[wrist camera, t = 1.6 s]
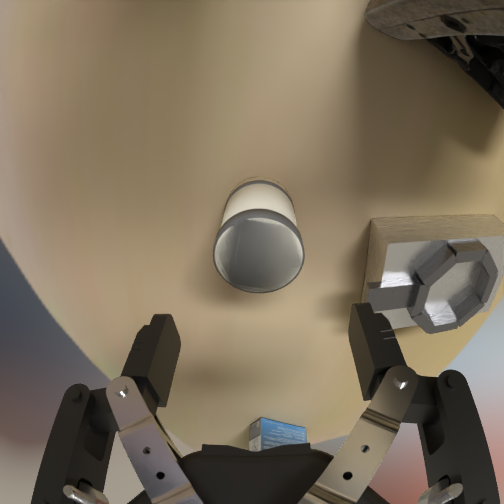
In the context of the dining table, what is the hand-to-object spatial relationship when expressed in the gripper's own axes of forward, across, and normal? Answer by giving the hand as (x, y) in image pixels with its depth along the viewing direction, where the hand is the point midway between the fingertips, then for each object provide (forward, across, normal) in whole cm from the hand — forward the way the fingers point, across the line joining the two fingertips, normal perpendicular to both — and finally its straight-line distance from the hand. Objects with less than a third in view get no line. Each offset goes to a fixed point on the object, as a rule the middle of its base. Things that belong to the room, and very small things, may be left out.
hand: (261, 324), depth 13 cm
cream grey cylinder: (+12, 0, 0) cm, 12 cm away
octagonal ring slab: (+12, -16, +6) cm, 21 cm away
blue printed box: (+13, 0, +37) cm, 39 cm away
